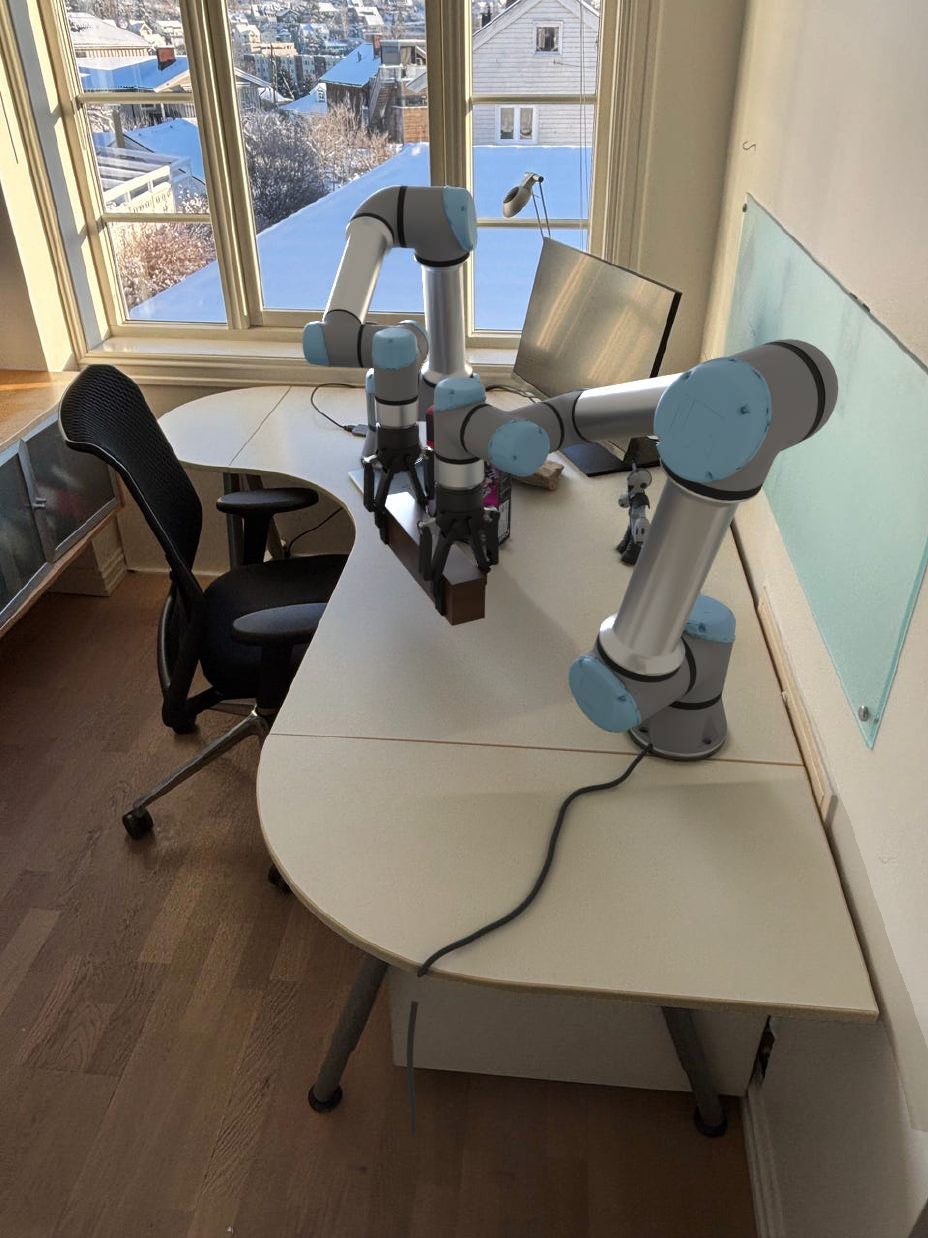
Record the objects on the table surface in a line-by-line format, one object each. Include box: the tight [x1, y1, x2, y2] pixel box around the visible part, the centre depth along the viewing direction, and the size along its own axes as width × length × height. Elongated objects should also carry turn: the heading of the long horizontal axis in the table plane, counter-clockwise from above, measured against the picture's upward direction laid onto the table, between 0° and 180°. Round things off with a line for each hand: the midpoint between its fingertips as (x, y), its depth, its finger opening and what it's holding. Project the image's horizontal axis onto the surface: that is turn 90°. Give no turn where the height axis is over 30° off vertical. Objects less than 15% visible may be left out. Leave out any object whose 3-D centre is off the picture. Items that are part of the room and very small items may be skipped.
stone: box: [512, 459, 565, 490], centre depth 217 cm, size 21×15×6 cm
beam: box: [378, 491, 487, 627], centre depth 162 cm, size 34×6×8 cm, turn 25°
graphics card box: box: [425, 405, 513, 548], centre depth 187 cm, size 17×7×27 cm, turn 62°
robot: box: [615, 459, 653, 566], centre depth 183 cm, size 20×5×20 cm, turn 3°
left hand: (401, 537), depth 174 cm, fingers closed on beam, 6 cm apart
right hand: (458, 606), depth 154 cm, fingers closed on beam, 6 cm apart
